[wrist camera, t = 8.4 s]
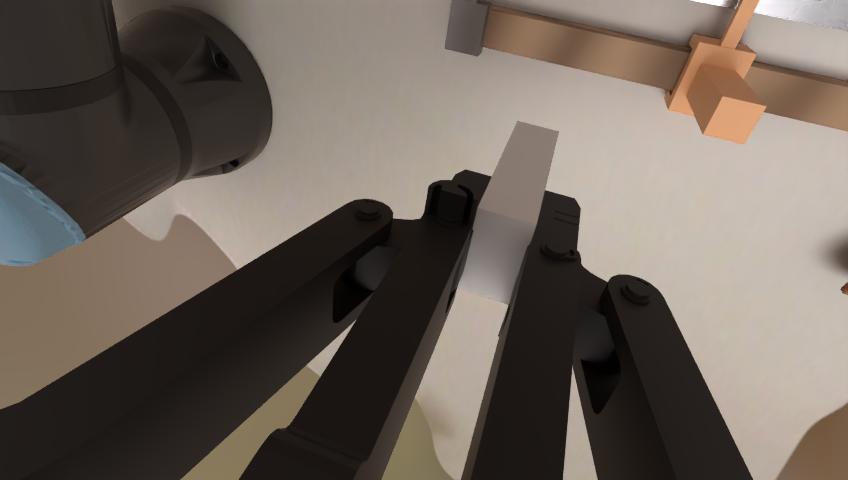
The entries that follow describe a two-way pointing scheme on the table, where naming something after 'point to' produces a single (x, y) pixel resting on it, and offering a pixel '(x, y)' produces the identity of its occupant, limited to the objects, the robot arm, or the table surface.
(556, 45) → the beam
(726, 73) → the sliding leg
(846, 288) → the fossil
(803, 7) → the metal board
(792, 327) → the table surface
